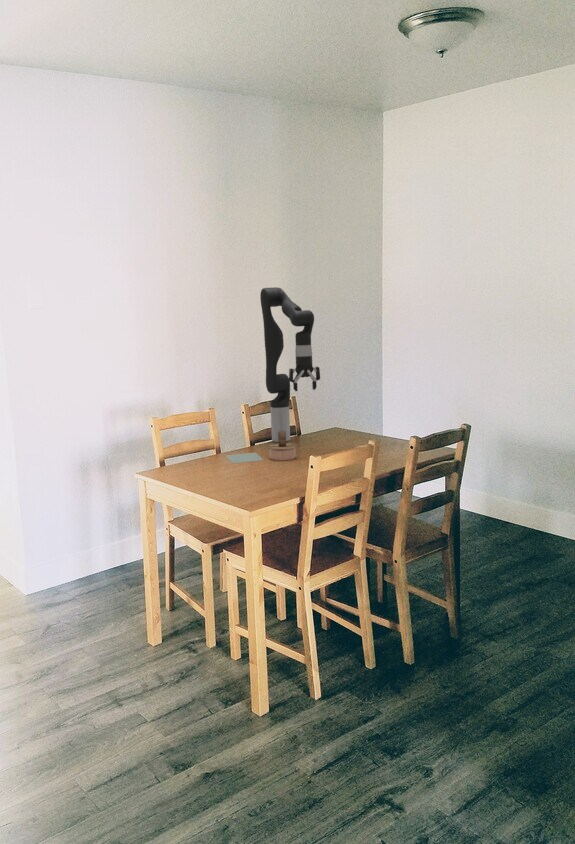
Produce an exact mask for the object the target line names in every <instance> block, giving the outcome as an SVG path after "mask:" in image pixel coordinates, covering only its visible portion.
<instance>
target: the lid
mask: <svg viewBox="0 0 575 844" xmlns="http://www.w3.org/2000/svg"><path fill="white" fill-rule="evenodd" d="M295 448H296V449H297V445H296V444H294V443H290V442H288V443H287V441H286V431H279V432H278V442H277V443H274V444H270V445H268V450H269V449H270V450H274V451H286V450H292V449H295ZM270 450H269V451H270Z"/></svg>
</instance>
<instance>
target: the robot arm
mask: <svg viewBox="0 0 575 844" xmlns="http://www.w3.org/2000/svg"><path fill="white" fill-rule="evenodd" d="M259 294H260V306H261V313H262V321H263V333H264V334H263V335H264V337H263V338H264V339H263V340H264V348H265V350H264V351H265V386H266V389H267V390H266V391H267V392H268V393H269V394H277V395H276V396H275V397H274V398H273V399H272V400H270V403H269V405H270V425H271V442H275V443H278V432H279V431H286V442H289V441H290V440H291V425H290V422H291V421H290V420H291V419H290V400H291V383H293V385H292V386H293V390H294V392H298V381H299V380H300V379H301V378H309V379H311V380H312V390H315V391H316V389H317V387H318V386H317V382H318V381H320V380H321V370H320V367H319V366H313V349H312V348H313V347H312V332H313V328H314V323H315V314H314V313H313V311H311V310H309V309H307V310H302V307H300V305H298V304H297V303H295V302H293V301H292V300H291V298H290V297H289V296H288V294H287V293H286V292H285V291H284V289H282V288H281V287H279V286H278V287H263V288H262V289H261V290H260V293H259ZM273 307H274V308H275V307H281V312H282V313H283V315H284V316H286V317H287V318H288V319H289V321H290V322H291V324H292V325H291V326H294V327H303V329H302V330H300V331H298V332H296V333H295V351H294V352H295V353H294V354H295V368H289V369H288V372H289V373H288V375H287V374H286V373H278V374H277V368H278V367H277V366H278V363H279V360H280V357H281V355H282V353H283V350H284V348H285V347H284V334H283V330H282V329H281V328H280V326H279V325H278V323H277V322H276V320H275V319H274V316H273V312H272V308H273ZM313 372H314V373H315V375H314V374H313ZM295 373H296V375H295V376H294V374H295Z"/></svg>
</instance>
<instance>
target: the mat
mask: <svg viewBox="0 0 575 844" xmlns="http://www.w3.org/2000/svg"><path fill="white" fill-rule="evenodd" d="M225 457H226V458H227V459H228V460H229V461H230V463H232V464H239V463H251V462H257V461H264V459H263V458H262V456H260V455H259V454H257V452H250V453H249V452H248V453H239V454H238V453H237V454H227V455H225Z"/></svg>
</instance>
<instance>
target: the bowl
mask: <svg viewBox="0 0 575 844" xmlns="http://www.w3.org/2000/svg"><path fill="white" fill-rule="evenodd" d="M296 449H297V447H296V448H295V449H292V450H286V451H274V450H270V449H269V448H268V451H269V458H270V459H271V461H277V462H278V461H291V460H293V459H295V458H296V456H297V455H296V454H297V453H296V451H297V450H296Z"/></svg>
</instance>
